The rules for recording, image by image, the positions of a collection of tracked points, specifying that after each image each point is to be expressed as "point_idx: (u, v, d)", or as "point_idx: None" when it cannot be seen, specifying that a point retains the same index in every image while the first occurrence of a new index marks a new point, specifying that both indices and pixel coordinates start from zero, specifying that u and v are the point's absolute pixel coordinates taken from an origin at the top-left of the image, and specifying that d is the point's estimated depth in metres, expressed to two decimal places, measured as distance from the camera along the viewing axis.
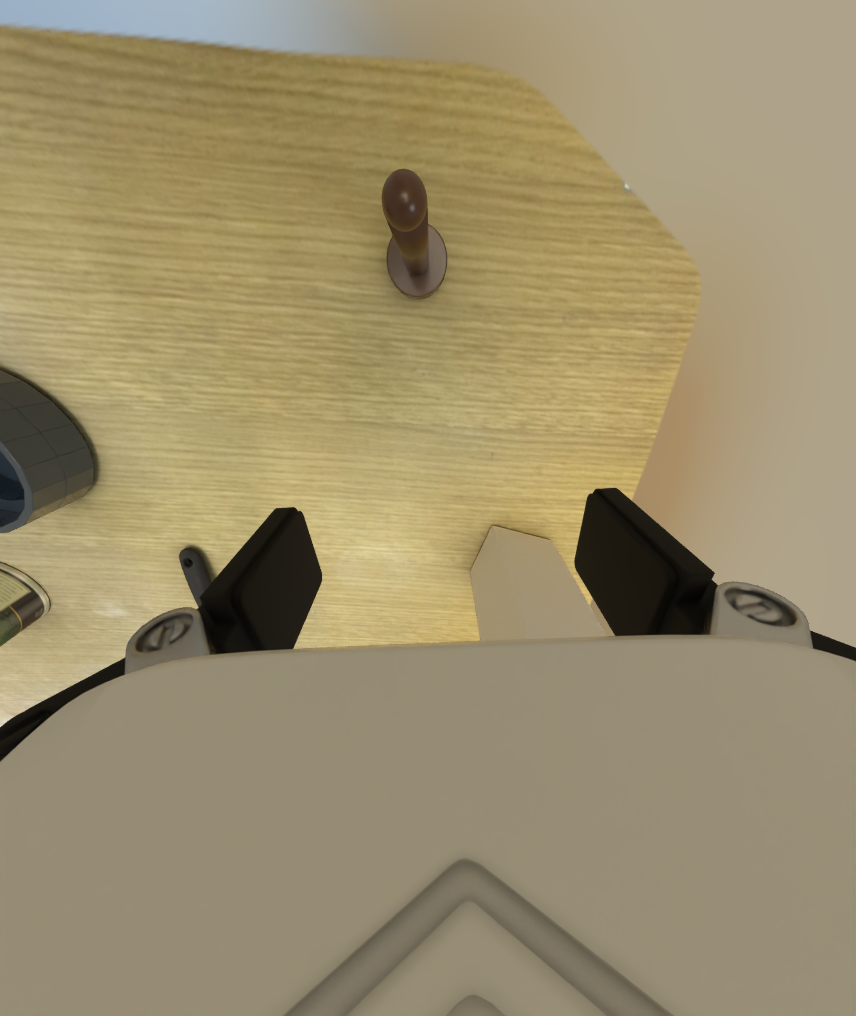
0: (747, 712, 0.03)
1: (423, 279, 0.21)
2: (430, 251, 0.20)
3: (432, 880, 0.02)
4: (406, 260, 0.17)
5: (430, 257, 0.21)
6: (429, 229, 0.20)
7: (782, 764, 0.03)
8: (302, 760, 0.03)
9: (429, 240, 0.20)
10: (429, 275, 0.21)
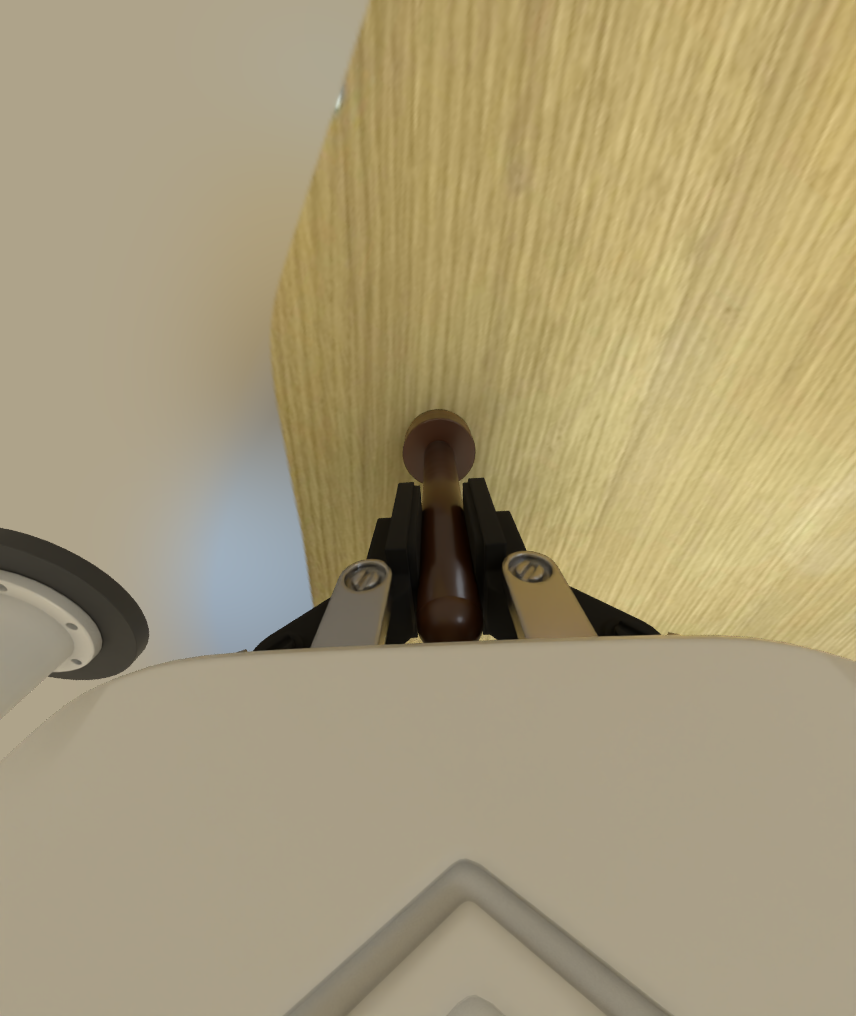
0: (747, 712, 0.03)
1: (458, 447, 0.17)
2: (430, 438, 0.17)
3: (432, 880, 0.02)
4: None
5: (436, 438, 0.17)
6: (409, 440, 0.17)
7: (782, 764, 0.03)
8: (302, 760, 0.03)
9: (420, 440, 0.17)
10: (454, 440, 0.17)
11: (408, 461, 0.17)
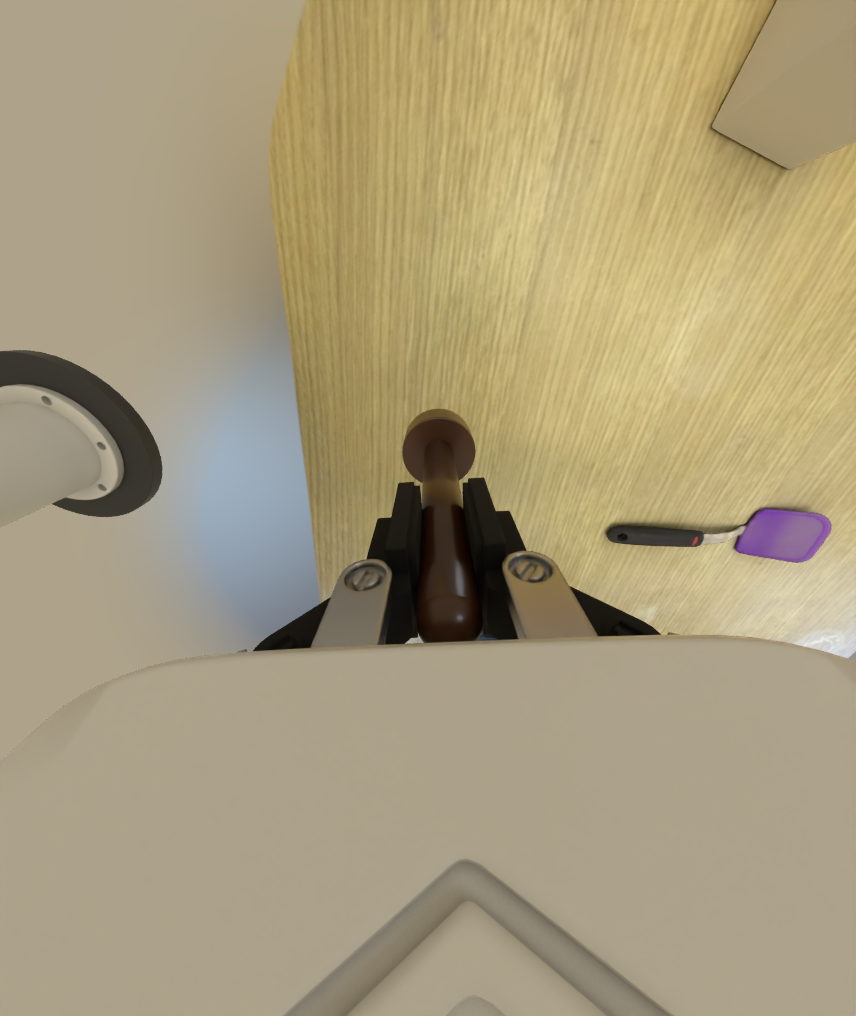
0: (747, 712, 0.03)
1: (458, 446, 0.17)
2: (430, 438, 0.17)
3: (432, 880, 0.02)
4: None
5: (436, 438, 0.17)
6: (409, 439, 0.17)
7: (782, 764, 0.03)
8: (303, 761, 0.03)
9: (419, 439, 0.17)
10: (454, 439, 0.17)
11: (408, 460, 0.17)
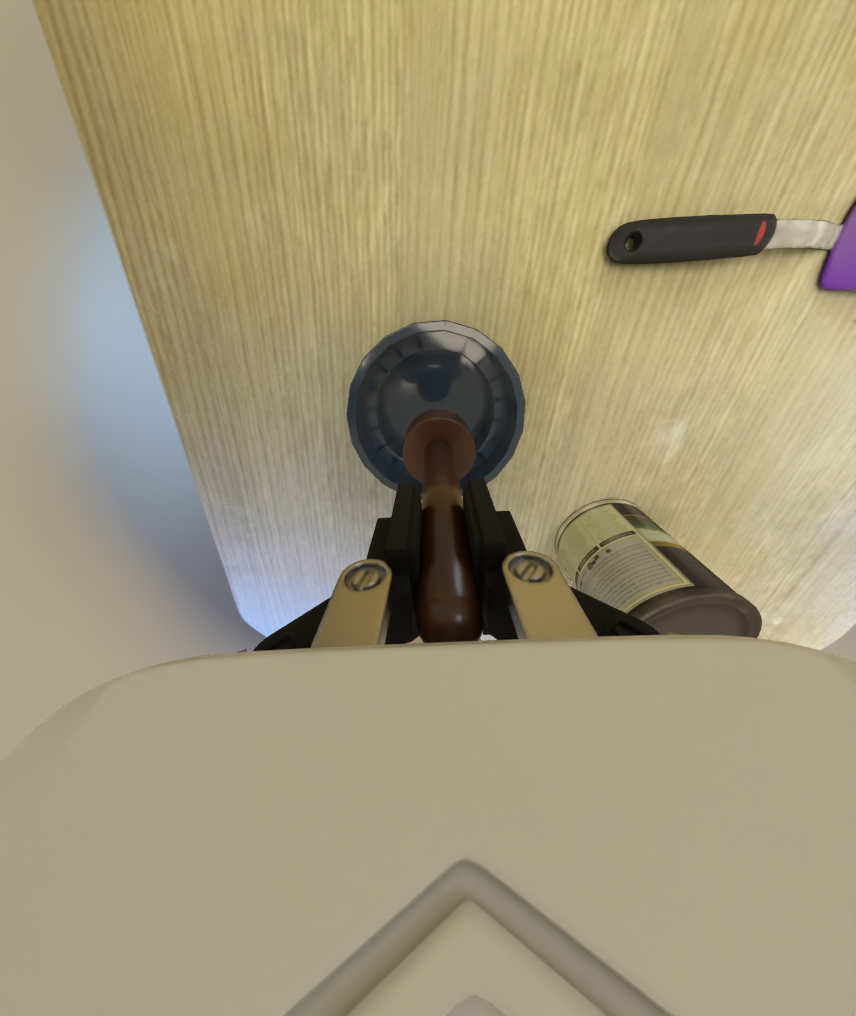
0: (747, 712, 0.03)
1: (458, 446, 0.17)
2: (430, 438, 0.17)
3: (432, 880, 0.02)
4: None
5: (436, 438, 0.17)
6: (409, 439, 0.17)
7: (782, 764, 0.03)
8: (302, 760, 0.03)
9: (419, 439, 0.17)
10: (454, 439, 0.17)
11: (408, 460, 0.17)
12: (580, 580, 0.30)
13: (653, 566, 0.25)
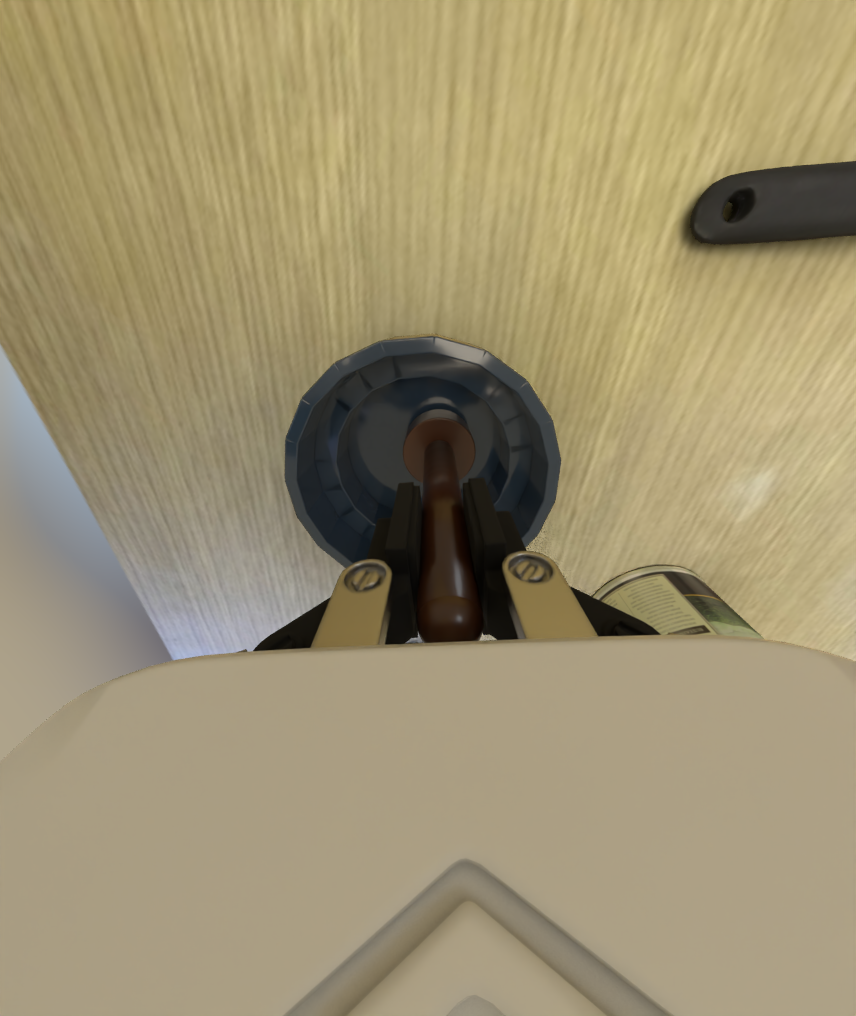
0: (747, 712, 0.03)
1: (458, 446, 0.17)
2: (430, 438, 0.17)
3: (432, 880, 0.02)
4: None
5: (436, 438, 0.17)
6: (410, 439, 0.17)
7: (782, 764, 0.03)
8: (301, 761, 0.03)
9: (420, 439, 0.17)
10: (454, 439, 0.17)
11: (408, 461, 0.17)
12: None
13: None
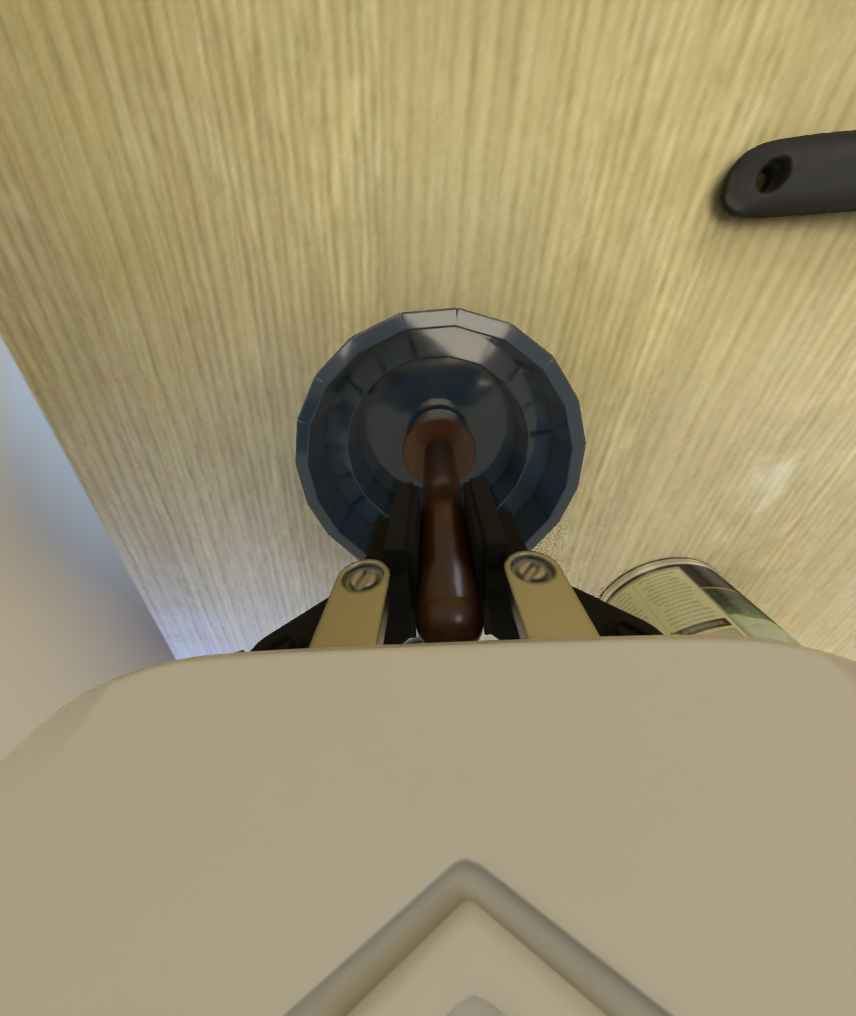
0: (747, 712, 0.03)
1: (458, 446, 0.17)
2: (430, 438, 0.17)
3: (432, 880, 0.02)
4: None
5: (436, 438, 0.17)
6: (410, 439, 0.17)
7: (782, 764, 0.03)
8: (303, 759, 0.03)
9: (420, 439, 0.17)
10: (454, 439, 0.17)
11: (408, 461, 0.17)
12: None
13: None
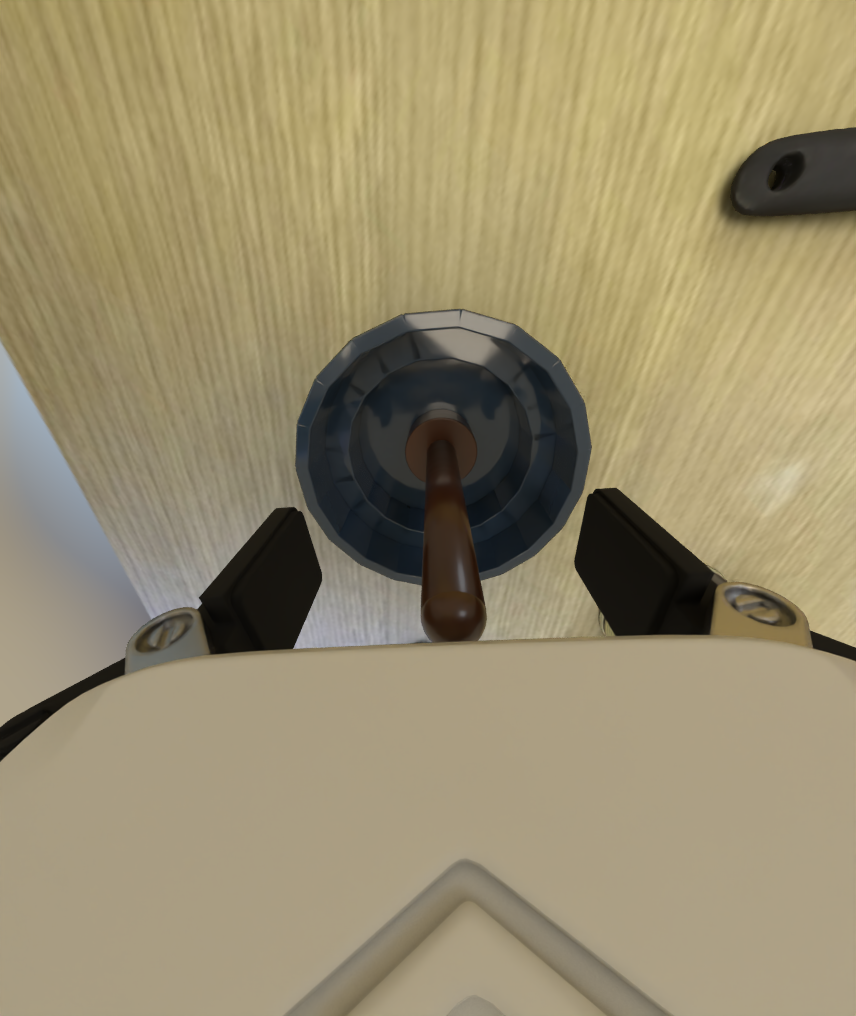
0: (747, 712, 0.03)
1: (460, 446, 0.17)
2: (432, 438, 0.17)
3: (432, 880, 0.02)
4: None
5: (438, 438, 0.17)
6: (412, 439, 0.17)
7: (782, 764, 0.03)
8: (301, 761, 0.03)
9: (422, 439, 0.17)
10: (456, 439, 0.17)
11: (410, 460, 0.18)
12: None
13: None
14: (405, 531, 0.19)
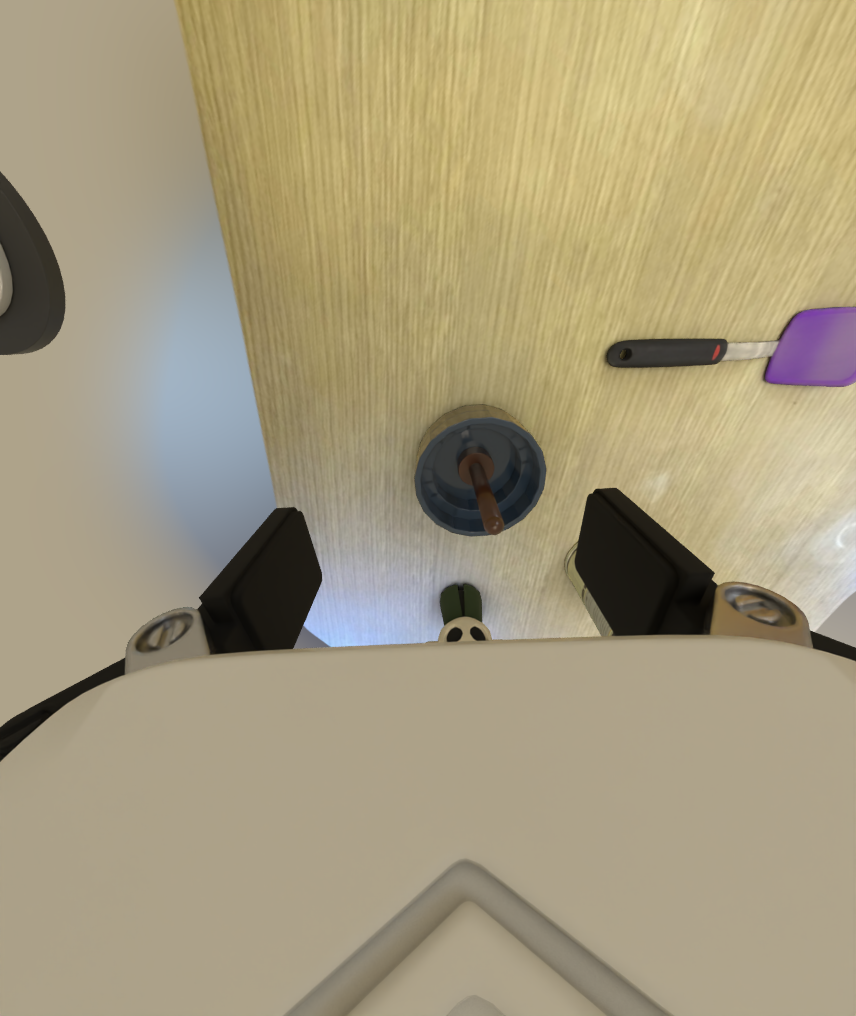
0: (747, 712, 0.03)
1: (486, 466, 0.35)
2: (472, 462, 0.34)
3: (432, 880, 0.02)
4: None
5: (475, 462, 0.34)
6: (462, 462, 0.34)
7: (782, 764, 0.03)
8: (302, 760, 0.03)
9: (467, 462, 0.34)
10: (484, 462, 0.34)
11: (460, 473, 0.35)
12: (586, 596, 0.38)
13: None
14: (456, 509, 0.37)
